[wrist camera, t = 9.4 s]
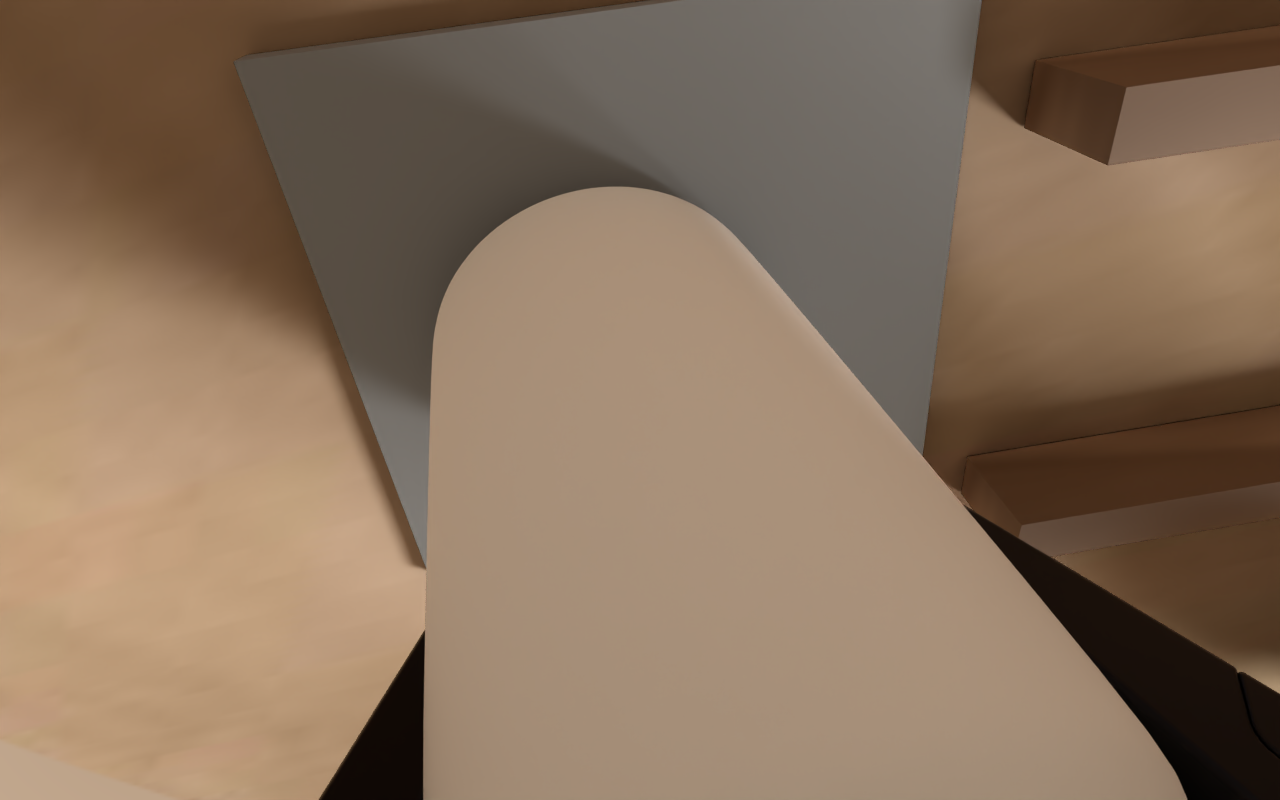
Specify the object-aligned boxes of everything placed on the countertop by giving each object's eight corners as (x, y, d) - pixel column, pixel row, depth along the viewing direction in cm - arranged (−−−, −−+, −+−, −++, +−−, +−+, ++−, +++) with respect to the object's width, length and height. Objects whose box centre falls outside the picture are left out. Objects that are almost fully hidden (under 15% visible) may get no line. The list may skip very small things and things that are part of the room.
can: (353, 315, 13) (118, 1472, 4) (660, 99, 12) (1452, 880, 3) (562, 516, 17) (720, 1349, 7) (809, 362, 16) (1366, 1086, 6)
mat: (905, 496, 19) (915, 512, 19) (437, 574, 19) (435, 592, 18) (969, -44, 13) (986, -42, 12) (245, 55, 12) (233, 61, 12)
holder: (1364, 426, 20) (1461, 487, 18) (961, 493, 19) (1012, 563, 17) (1602, -21, 14) (1788, -10, 12) (1035, 59, 14) (1126, 87, 12)
